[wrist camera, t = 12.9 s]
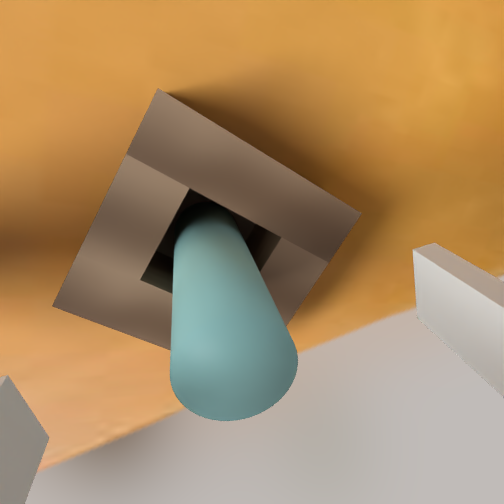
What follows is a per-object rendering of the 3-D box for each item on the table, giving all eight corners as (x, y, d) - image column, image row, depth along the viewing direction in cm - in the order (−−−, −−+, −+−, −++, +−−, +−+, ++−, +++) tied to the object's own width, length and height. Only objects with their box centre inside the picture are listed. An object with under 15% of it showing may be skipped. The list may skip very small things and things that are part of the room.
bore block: (163, 92, 22) (157, 88, 17) (323, 190, 26) (362, 213, 21) (80, 261, 25) (52, 306, 19) (236, 327, 29) (250, 380, 23)
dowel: (192, 190, 23) (209, 293, 11) (247, 219, 25) (321, 341, 12) (164, 244, 24) (147, 399, 12) (218, 269, 26) (257, 434, 13)
